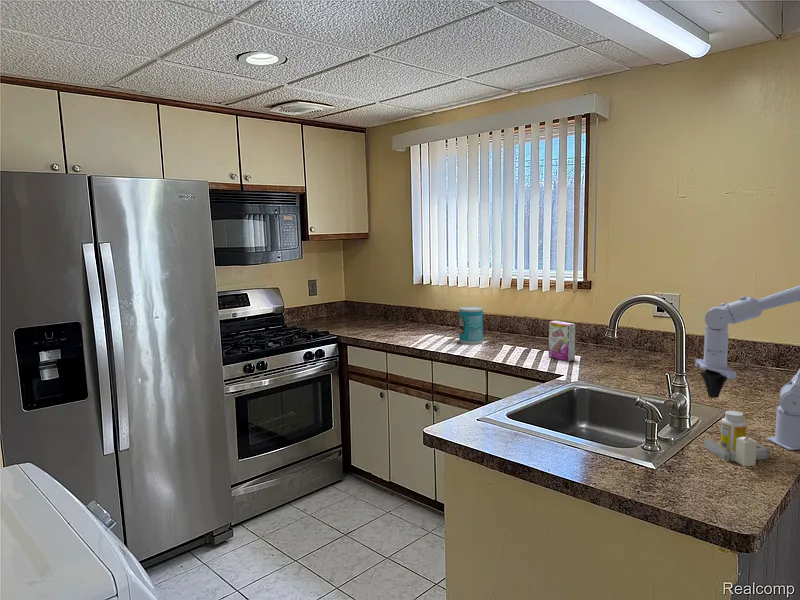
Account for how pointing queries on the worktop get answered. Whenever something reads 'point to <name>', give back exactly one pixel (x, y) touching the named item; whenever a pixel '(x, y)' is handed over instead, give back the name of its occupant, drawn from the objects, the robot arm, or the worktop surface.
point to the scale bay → (733, 451)
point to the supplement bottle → (732, 429)
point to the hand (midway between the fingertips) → (713, 397)
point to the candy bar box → (562, 340)
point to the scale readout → (745, 451)
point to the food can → (471, 325)
